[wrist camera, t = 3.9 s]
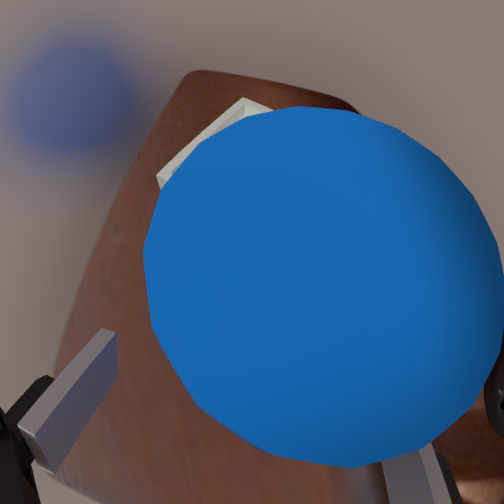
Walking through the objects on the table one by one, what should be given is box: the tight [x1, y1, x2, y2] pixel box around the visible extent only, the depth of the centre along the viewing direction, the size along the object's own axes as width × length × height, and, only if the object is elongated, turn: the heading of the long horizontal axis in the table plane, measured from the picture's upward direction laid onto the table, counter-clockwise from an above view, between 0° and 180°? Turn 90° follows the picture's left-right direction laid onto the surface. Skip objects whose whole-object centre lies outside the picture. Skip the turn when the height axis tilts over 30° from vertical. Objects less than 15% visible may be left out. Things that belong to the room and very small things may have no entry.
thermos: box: [143, 106, 504, 468], centre depth 19 cm, size 11×11×25 cm
